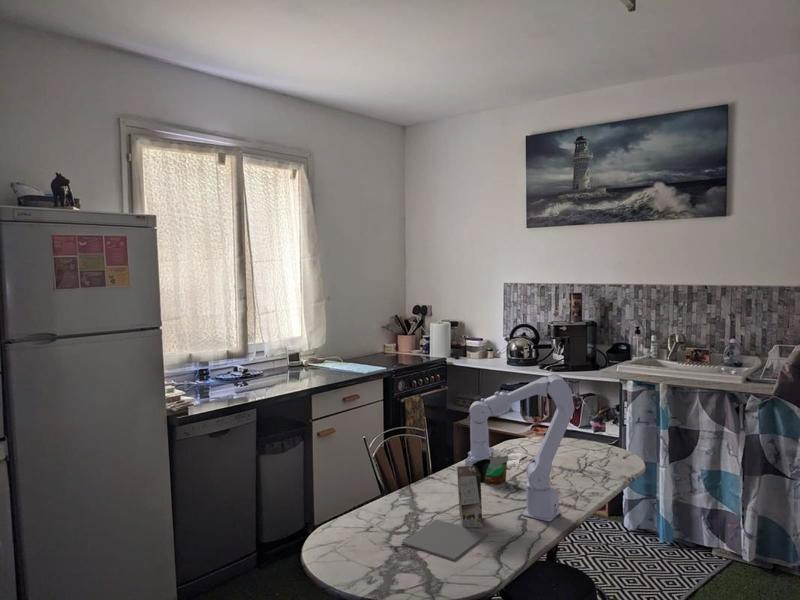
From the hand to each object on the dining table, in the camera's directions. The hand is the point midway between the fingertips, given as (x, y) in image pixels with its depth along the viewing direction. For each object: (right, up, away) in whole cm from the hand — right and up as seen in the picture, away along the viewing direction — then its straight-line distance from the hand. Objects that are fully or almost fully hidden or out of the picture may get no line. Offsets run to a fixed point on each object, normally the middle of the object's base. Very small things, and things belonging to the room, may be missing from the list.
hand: (480, 482), depth 187 cm
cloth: (+18, -8, +49) cm, 53 cm away
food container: (+7, -9, +27) cm, 29 cm away
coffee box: (-4, -11, -5) cm, 12 cm away
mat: (-13, -12, -16) cm, 24 cm away
